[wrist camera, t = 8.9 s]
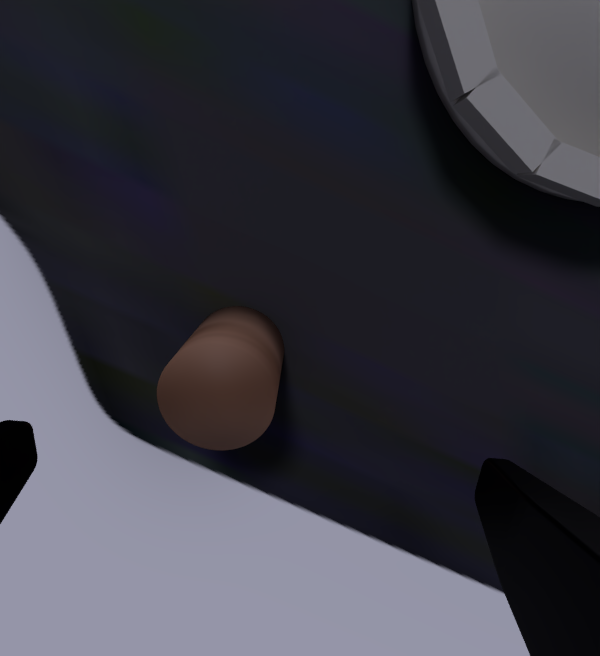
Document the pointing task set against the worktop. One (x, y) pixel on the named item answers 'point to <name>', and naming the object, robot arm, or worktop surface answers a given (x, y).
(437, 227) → the worktop surface
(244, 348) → the bead terracotta
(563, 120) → the tray
